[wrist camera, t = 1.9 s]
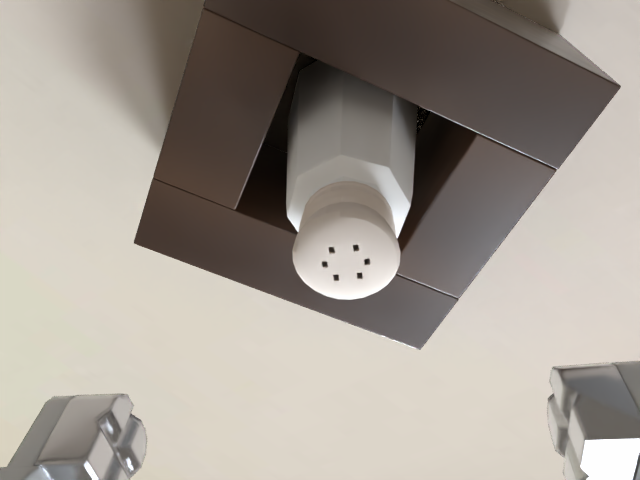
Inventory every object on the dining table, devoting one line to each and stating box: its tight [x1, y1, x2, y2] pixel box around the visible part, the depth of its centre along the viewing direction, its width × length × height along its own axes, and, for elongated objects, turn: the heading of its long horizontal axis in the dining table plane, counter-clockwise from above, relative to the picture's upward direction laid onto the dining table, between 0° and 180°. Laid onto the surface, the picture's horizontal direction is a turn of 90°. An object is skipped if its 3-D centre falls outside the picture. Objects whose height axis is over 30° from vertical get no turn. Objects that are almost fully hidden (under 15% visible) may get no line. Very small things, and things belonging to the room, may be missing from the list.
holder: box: [134, 0, 621, 350], centre depth 21 cm, size 12×12×6 cm
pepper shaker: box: [286, 60, 418, 300], centre depth 19 cm, size 5×5×11 cm
